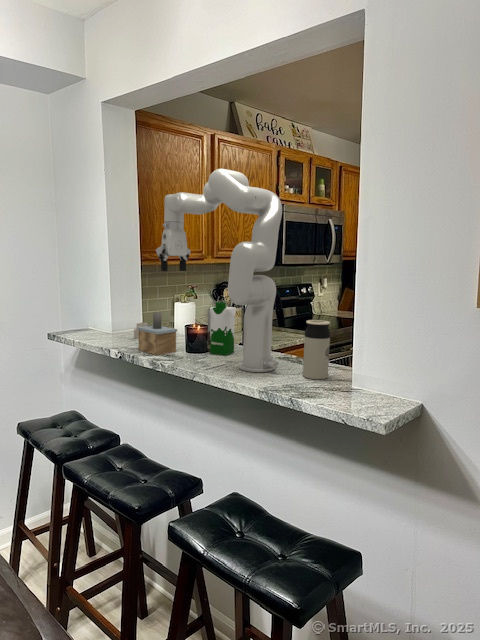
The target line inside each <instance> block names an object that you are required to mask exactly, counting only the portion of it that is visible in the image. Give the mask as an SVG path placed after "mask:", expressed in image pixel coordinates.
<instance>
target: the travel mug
mask: <svg viewBox="0 0 480 640" xmlns="http://www.w3.org/2000/svg"><path fill="white" fill-rule="evenodd" d="M305 323H306V326H307V327H306V329H305V331H304V342H303V344H304V346H303V363H302V364H303V366H302V376H303V377H305V379H309V380H314V381H315V380H316V381H317V380H325V379H327V378H329V363H330V345H331V343H330V342H331V331H330V329H329V326H330V324H331V322H330V321H329V320H328V321H327V320H321V319H308V320H306V322H305Z"/></svg>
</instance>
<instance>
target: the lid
mask: <svg viewBox="0 0 480 640" xmlns="http://www.w3.org/2000/svg"><path fill="white" fill-rule="evenodd" d="M138 330H140V331H144V332H149V333H153V334H164V333H171V332H176V333H178V329H177V328H173V327H168V326H163V325H162V312H160V311H159V312H153V313H152V325H149V326H148V325H147V326H146V327H138Z"/></svg>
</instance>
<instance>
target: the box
mask: <svg viewBox="0 0 480 640" xmlns="http://www.w3.org/2000/svg"><path fill="white" fill-rule="evenodd" d="M140 350H141V352H144V351H145V353H147V354H151V353H152V355H156V356H161V355H165V354H166V353H167V354H172V352H173V353H177V332H171V333H164V334H153V333H149V332H144V331H140V330H139V339H138V351H140ZM160 354H161V355H160Z"/></svg>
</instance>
